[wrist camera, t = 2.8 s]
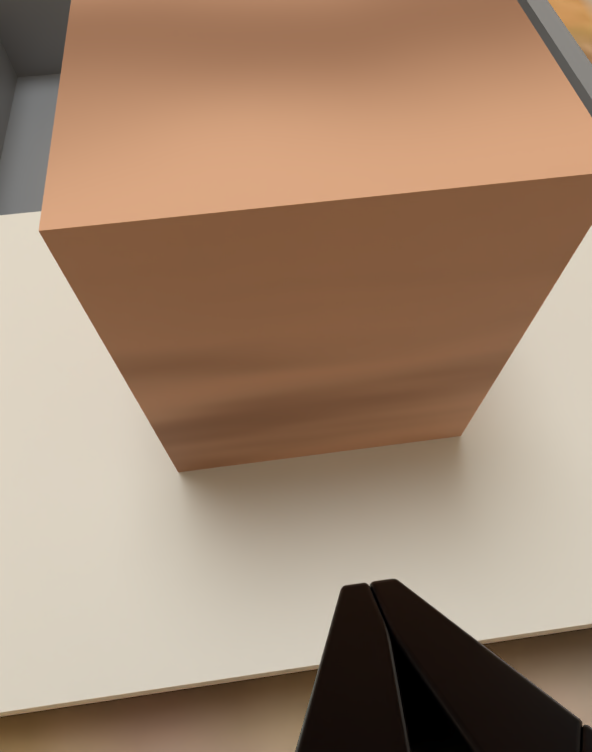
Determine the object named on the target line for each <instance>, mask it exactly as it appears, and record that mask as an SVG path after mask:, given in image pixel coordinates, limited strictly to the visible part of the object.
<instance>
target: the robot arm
mask: <svg viewBox="0 0 592 752" xmlns="http://www.w3.org/2000/svg"><path fill="white" fill-rule="evenodd" d="M295 752H592V728H591V727H590V726H588V725H583V727H582V721H581V720H580V719H579V718H578V717H576V716H575V715H574V714H572V713H571V712H570V711H569V710H567V709H566V708H565V707H563V706H562V705H561V704H559V703H558V702H557V701H555V700H554V699H553V698H552V697H550V696H549V695H548V694H546V693H545V692H544V691H542V690H541V689H540V688H539V687H537V686H536V685H535V684H533V683H532V682H531V681H529V680H528V679H527V678H525V677H524V676H523V675H522V674H520V673H519V672H518V671H516V670H515V669H514V668H512V667H511V666H510V665H508V664H507V663H506V662H505V661H503V660H502V659H501V658H499V657H498V656H497V655H495V654H494V653H493V652H492V651H490V650H489V649H488V648H486V647H485V646H484V645H482V644H481V643H480V642H478V641H477V640H476V639H475V638H473V637H472V636H471V635H469V634H468V633H467V632H465V631H464V630H463V629H461V628H460V627H459V626H458V625H456V624H455V623H454V622H452V621H451V620H450V619H448V618H447V617H446V616H444V615H443V614H442V613H441V612H439V611H438V610H437V609H435V608H434V607H433V606H431V605H430V604H429V603H428V602H426V601H425V600H424V599H422V598H421V597H420V596H418V595H417V594H416V593H414V592H413V591H412V590H411V589H409V588H408V587H407V586H405V585H404V584H403V583H401V582H400V581H399V580H397V579H385V580H378V581H373V582H371V583H370V586H369V585H368V584H367V583H357V584H350V585H344V586H343V587H342V588H341V590H340V593H339V597H338V600H337V604H336V607H335V611H334V614H333V618H332V622H331V625H330V629H329V632H328V636H327V640H326V643H325V647H324V650H323V654H322V657H321V661H320V665H319V668H318V672H317V675H316V679H315V682H314V686H313V690H312V693H311V697H310V700H309V704H308V707H307V711H306V715H305V718H304V722H303V725H302V729H301V733H300V736H299V740H298V743H297V747H296V750H295Z"/></svg>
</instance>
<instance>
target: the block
mask: <svg viewBox="0 0 592 752" xmlns="http://www.w3.org/2000/svg"><path fill="white" fill-rule="evenodd" d="M591 225H592V117H591V115H590V114H589V112H588V111H587V109H586V107H585V106H584V104H583V103H582V101H581V100H580V98H579V96H578V95H577V93H576V92H575V90H574V89H573V87H572V86H571V84H570V82H569V81H568V79H567V78H566V76H565V75H564V73H563V71H562V70H561V68H560V67H559V65H558V64H557V62H556V61H555V59H554V57H553V56H552V54H551V53H550V51H549V50H548V48H547V46H546V45H545V43H544V42H543V40H542V39H541V37H540V36H539V34H538V32H537V31H536V29H535V28H534V26H533V25H532V23H531V21H530V20H529V18H528V17H527V15H526V14H525V12H524V11H523V9H522V7H521V6H520V4H519V3H518V1H517V0H71V4H70V11H69V18H68V26H67V33H66V40H65V47H64V54H63V61H62V68H61V75H60V82H59V89H58V96H57V104H56V111H55V118H54V125H53V132H52V139H51V146H50V153H49V160H48V167H47V174H46V181H45V189H44V196H43V203H42V210H41V217H40V224H39V233H40V234H41V236H42V238H43V240H44V241H45V243H46V245H47V246H48V248H49V250H50V252H51V253H52V255H53V257H54V259H55V260H56V262H57V264H58V265H59V267H60V269H61V271H62V272H63V274H64V276H65V278H66V279H67V281H68V283H69V284H70V286H71V288H72V290H73V291H74V293H75V295H76V297H77V298H78V300H79V302H80V303H81V305H82V307H83V309H84V310H85V312H86V314H87V316H88V317H89V319H90V321H91V322H92V324H93V326H94V328H95V329H96V331H97V333H98V335H99V336H100V338H101V340H102V342H103V343H104V345H105V347H106V348H107V350H108V352H109V354H110V355H111V357H112V359H113V361H114V362H115V364H116V366H117V367H118V369H119V371H120V373H121V374H122V376H123V378H124V380H125V381H126V383H127V385H128V386H129V388H130V390H131V392H132V393H133V395H134V397H135V399H136V400H137V402H138V404H139V405H140V407H141V409H142V411H143V412H144V414H145V416H146V418H147V419H148V421H149V423H150V424H151V426H152V428H153V430H154V431H155V433H156V435H157V437H158V438H159V440H160V442H161V443H162V445H163V447H164V449H165V450H166V452H167V454H168V456H169V457H170V459H171V461H172V462H173V464H174V466H175V468H176V469H177V471H178V472H185V471H193V470H200V469H208V468H216V467H224V466H231V465H239V464H247V463H255V462H262V461H270V460H278V459H286V458H293V457H301V456H309V455H317V454H324V453H332V452H340V451H348V450H355V449H363V448H371V447H379V446H386V445H394V444H402V443H410V442H417V441H425V440H433V439H441V438H449V437H456V436H461V435H462V433H463V432H464V430H465V428H466V427H467V425H468V424H469V422H470V420H471V419H472V417H473V416H474V414H475V412H476V411H477V409H478V407H479V406H480V404H481V403H482V401H483V399H484V398H485V396H486V395H487V393H488V391H489V390H490V388H491V387H492V385H493V383H494V382H495V380H496V378H497V377H498V375H499V374H500V372H501V370H502V369H503V367H504V366H505V364H506V362H507V361H508V359H509V358H510V356H511V354H512V353H513V351H514V349H515V348H516V346H517V345H518V343H519V341H520V340H521V338H522V337H523V335H524V333H525V332H526V330H527V329H528V327H529V325H530V324H531V322H532V320H533V319H534V317H535V316H536V314H537V312H538V311H539V309H540V308H541V306H542V304H543V303H544V301H545V300H546V298H547V296H548V295H549V293H550V291H551V290H552V288H553V287H554V285H555V283H556V282H557V280H558V279H559V277H560V275H561V274H562V272H563V271H564V269H565V267H566V266H567V264H568V262H569V261H570V259H571V258H572V256H573V254H574V253H575V251H576V250H577V248H578V246H579V245H580V243H581V241H582V240H583V238H584V237H585V235H586V233H587V232H588V230H589V229H590V227H591Z"/></svg>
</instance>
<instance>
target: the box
mask: <svg viewBox="0 0 592 752" xmlns="http://www.w3.org/2000/svg"><path fill="white" fill-rule="evenodd" d="M517 1H518V3H519V4H520V6H521V7H522V9H523V11H524V12H525V14H526V15H527V17H528V18H529V20H530V21H531V23H532V25H533V26H534V28H535V29H536V31H537V32H538V34H539V36H540V37H541V39H542V40H543V42H544V43H545V45H546V46H547V48H548V50H549V51H550V53H551V54H552V56H553V57H554V59H555V61H556V62H557V64H558V65H559V67H560V68H561V70H562V71H563V73H564V75H565V76H566V78H567V79H568V81H569V82H570V84H571V86H572V87H573V89H574V90H575V92H576V93H577V95H578V96H579V98H580V100H581V101H582V103H583V104H584V106H585V107H586V109H587V111H588V112H589V114H590V115H591V117H592V64H591V63H590V61H589V60H588V58H587V57H586V55H585V54H584V52H583V51H582V50H581V48H580V47H579V45H578V44H577V42H576V41H575V39H574V38H573V37H572V35H571V34H570V32H569V31H568V29H567V28H566V26H565V25H564V24H563V22H562V21H561V19H560V18H559V16H558V15H557V13H556V12H555V11H554V9H553V8H552V6H551V5H550V3H549V2H548V1H547V0H517ZM70 4H71V0H0V215H9V214H19V213H28V212H38V211H41V210H42V203H43V196H44V189H45V181H46V174H47V167H48V160H49V153H50V146H51V139H52V132H53V125H54V118H55V111H56V104H57V96H58V89H59V82H60V75H61V68H62V61H63V54H64V47H65V40H66V33H67V26H68V18H69V11H70Z"/></svg>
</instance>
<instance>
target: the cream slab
mask: <svg viewBox="0 0 592 752" xmlns="http://www.w3.org/2000/svg"><path fill="white" fill-rule="evenodd" d="M40 217H41V211H38V212H28V213H19V214H9V215H0V717H3V716H9V715H16V714H23V713H29V712H36V711H42V710H49V709H56V708H62V707H69V706H76V705H82V704H89V703H96V702H102V701H109V700H115V699H122V698H129V697H135V696H142V695H149V694H155V693H162V692H169V691H175V690H182V689H188V688H195V687H202V686H208V685H215V684H222V683H228V682H235V681H242V680H248V679H255V678H261V677H268V676H275V675H281V674H288V673H295V672H301V671H308V670H315V669H318V668H319V665H320V661H321V657H322V654H323V650H324V647H325V643H326V640H327V636H328V632H329V629H330V625H331V622H332V618H333V614H334V611H335V607H336V604H337V600H338V597H339V593H340V590H341V588H342V587H343V586H344V585H350V584H357V583H367V584H368V585H369V586H370V583H371V582H373V581H378V580H385V579H397V580H399V581H400V582H401V583H403V584H404V585H405V586H407V587H408V588H409V589H411V590H412V591H413V592H414V593H416V594H417V595H418V596H420V597H421V598H422V599H424V600H425V601H426V602H428V603H429V604H430V605H431V606H433V607H434V608H435V609H437V610H438V611H439V612H441V613H442V614H443V615H444V616H446V617H447V618H448V619H450V620H451V621H452V622H454V623H455V624H456V625H458V626H459V627H460V628H461V629H463V630H464V631H465V632H467V633H468V634H469V635H471V636H472V637H473V638H475V639H476V640H477V641H478V642H480V643H481V644H487V643H494V642H500V641H507V640H514V639H520V638H527V637H534V636H540V635H547V634H553V633H560V632H567V631H573V630H580V629H587V628H592V225H591V227H590V229H589V230H588V232H587V233H586V235H585V237H584V238H583V240H582V241H581V243H580V245H579V246H578V248H577V250H576V251H575V253H574V254H573V256H572V258H571V259H570V261H569V262H568V264H567V266H566V267H565V269H564V271H563V272H562V274H561V275H560V277H559V279H558V280H557V282H556V283H555V285H554V287H553V288H552V290H551V291H550V293H549V295H548V296H547V298H546V300H545V301H544V303H543V304H542V306H541V308H540V309H539V311H538V312H537V314H536V316H535V317H534V319H533V320H532V322H531V324H530V325H529V327H528V329H527V330H526V332H525V333H524V335H523V337H522V338H521V340H520V341H519V343H518V345H517V346H516V348H515V349H514V351H513V353H512V354H511V356H510V358H509V359H508V361H507V362H506V364H505V366H504V367H503V369H502V370H501V372H500V374H499V375H498V377H497V378H496V380H495V382H494V383H493V385H492V387H491V388H490V390H489V391H488V393H487V395H486V396H485V398H484V399H483V401H482V403H481V404H480V406H479V407H478V409H477V411H476V412H475V414H474V416H473V417H472V419H471V420H470V422H469V424H468V425H467V427H466V428H465V430H464V432H463V433H462V435H461V436H456V437H449V438H441V439H433V440H425V441H417V442H410V443H402V444H394V445H386V446H379V447H371V448H363V449H355V450H348V451H340V452H332V453H324V454H317V455H309V456H301V457H293V458H286V459H278V460H270V461H262V462H255V463H247V464H239V465H231V466H224V467H216V468H208V469H200V470H193V471H185V472H178V471H177V469H176V468H175V466H174V464H173V462H172V461H171V459H170V457H169V456H168V454H167V452H166V450H165V449H164V447H163V445H162V443H161V442H160V440H159V438H158V437H157V435H156V433H155V431H154V430H153V428H152V426H151V424H150V423H149V421H148V419H147V418H146V416H145V414H144V412H143V411H142V409H141V407H140V405H139V404H138V402H137V400H136V399H135V397H134V395H133V393H132V392H131V390H130V388H129V386H128V385H127V383H126V381H125V380H124V378H123V376H122V374H121V373H120V371H119V369H118V367H117V366H116V364H115V362H114V361H113V359H112V357H111V355H110V354H109V352H108V350H107V348H106V347H105V345H104V343H103V342H102V340H101V338H100V336H99V335H98V333H97V331H96V329H95V328H94V326H93V324H92V322H91V321H90V319H89V317H88V316H87V314H86V312H85V310H84V309H83V307H82V305H81V303H80V302H79V300H78V298H77V297H76V295H75V293H74V291H73V290H72V288H71V286H70V284H69V283H68V281H67V279H66V278H65V276H64V274H63V272H62V271H61V269H60V267H59V265H58V264H57V262H56V260H55V259H54V257H53V255H52V253H51V252H50V250H49V248H48V246H47V245H46V243H45V241H44V240H43V238H42V236H41V234H40V233H39V224H40Z"/></svg>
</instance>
